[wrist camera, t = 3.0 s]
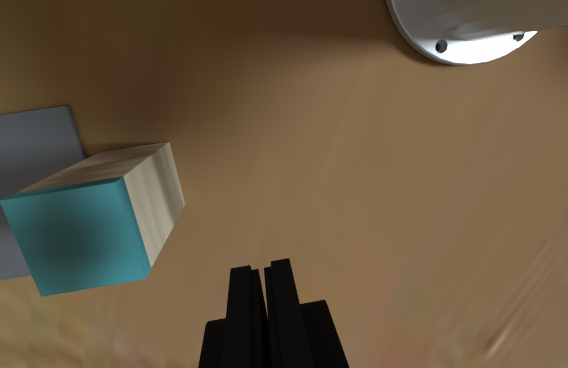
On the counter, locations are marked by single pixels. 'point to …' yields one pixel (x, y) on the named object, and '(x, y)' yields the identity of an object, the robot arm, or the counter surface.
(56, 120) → the rubber mat
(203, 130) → the counter surface
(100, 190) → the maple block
